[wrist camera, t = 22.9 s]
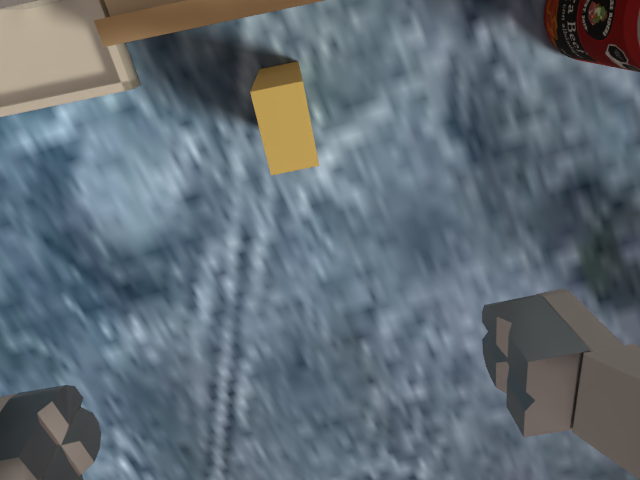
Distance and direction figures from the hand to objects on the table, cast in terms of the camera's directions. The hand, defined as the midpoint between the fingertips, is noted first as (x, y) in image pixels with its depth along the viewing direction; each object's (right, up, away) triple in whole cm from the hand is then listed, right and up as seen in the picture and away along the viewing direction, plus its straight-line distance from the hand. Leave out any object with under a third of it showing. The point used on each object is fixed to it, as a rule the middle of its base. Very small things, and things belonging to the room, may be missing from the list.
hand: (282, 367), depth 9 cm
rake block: (-2, +14, +26) cm, 29 cm away
